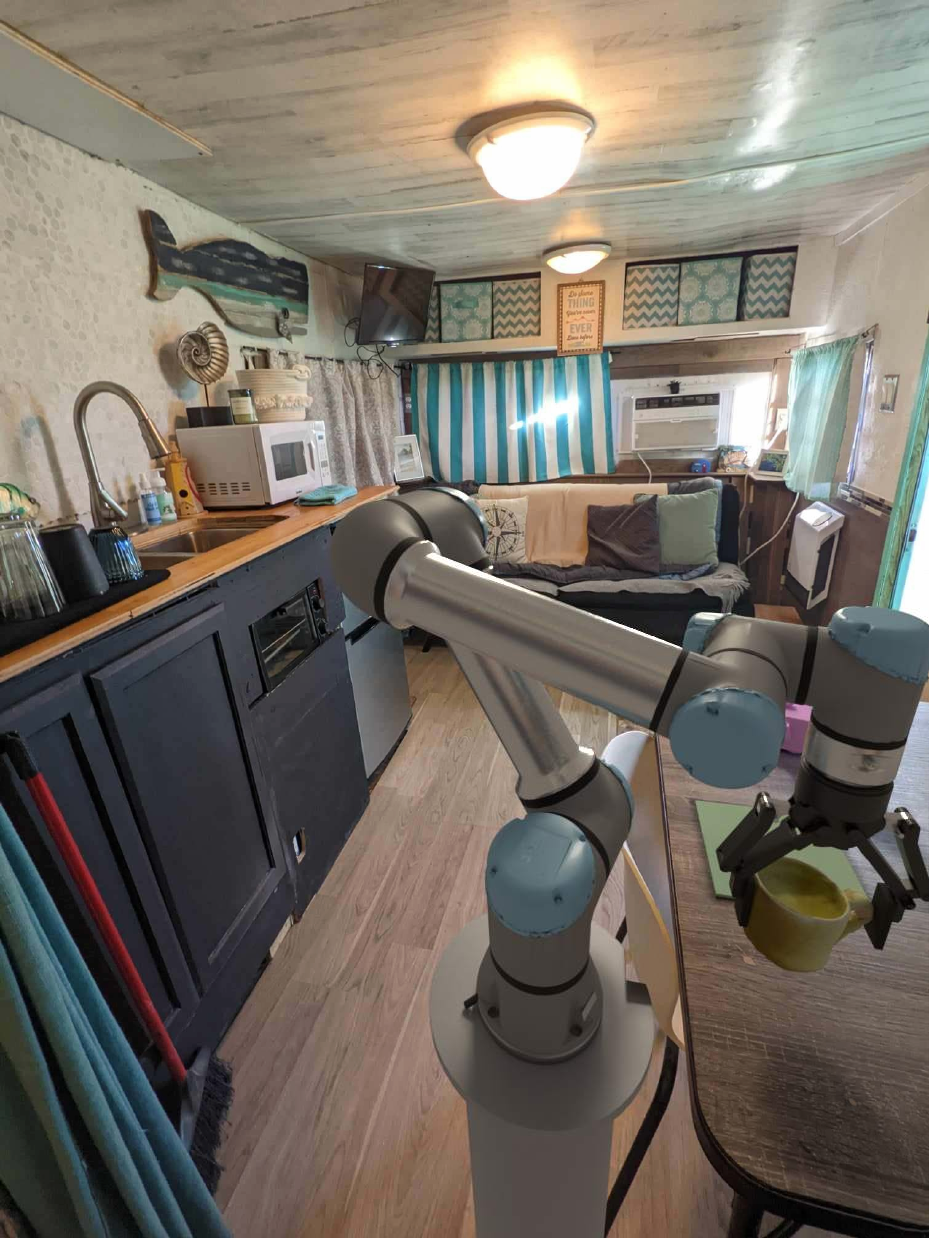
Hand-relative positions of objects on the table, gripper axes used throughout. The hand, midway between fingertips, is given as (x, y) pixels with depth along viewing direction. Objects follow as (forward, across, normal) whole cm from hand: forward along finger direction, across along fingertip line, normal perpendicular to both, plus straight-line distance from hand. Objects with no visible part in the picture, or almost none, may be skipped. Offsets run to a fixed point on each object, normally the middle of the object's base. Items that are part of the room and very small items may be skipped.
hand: (804, 927), depth 60 cm
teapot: (+11, +14, +55) cm, 58 cm away
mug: (+2, 0, 0) cm, 2 cm away
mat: (+11, +4, +23) cm, 26 cm away
